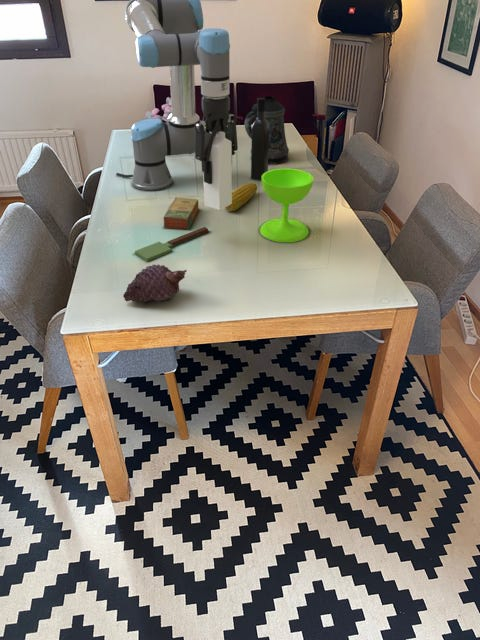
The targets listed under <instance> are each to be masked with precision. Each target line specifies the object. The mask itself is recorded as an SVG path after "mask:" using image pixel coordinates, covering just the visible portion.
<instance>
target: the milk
mask: <svg viewBox="0 0 480 640" xmlns="http://www.w3.org/2000/svg"><path fill="white" fill-rule="evenodd" d="M210 133H212V132H210ZM209 161H211V166H212V184H208V183H206V182H204V172H202V179H203V180H202V181H203V204H204V206H205V207H208V208H210V209H214V210H217V211H221V210H223V209H226V208H225V207H227V206H229V205H231V204H232V192H233V189H232V188H233V185H232V184H233V183H232V182H233V181H232V180H233V179H232V178H233V175H232V174H233V173H232V172H233V171H232V168H233V167H232V164H233V155H232V152H231V141H230V140H228V139H226V138H225V133H224V132H221V131H219V132H217V133H216V136H215V137H214V140H213V144H212V149H211V153H210V158H209Z"/></svg>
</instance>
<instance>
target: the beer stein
mask: <svg viewBox="0 0 480 640" xmlns="http://www.w3.org/2000/svg"><path fill="white" fill-rule="evenodd" d="M263 98H265V116H264V118H265V120H266V121H267V122H268V124H269V148H268V165H279V164H282V163H283V164H284V163H286V161H287V160H288V156H289V153H290V150H289V146H288V143H287V138H286V137H287V136H286V130H285V119H284V115H285V113H286V109H285V107H284V106H283V105H282V104H281V103H280V102H279V101H277V98H276V97H275V96H265V97H263ZM256 119H257V103H255V104H253V105H252V107H251V111H249V112H248V113H246V116H245V119H244V129H245V132H246V134H247V136H248V137H249V139H250V140H252V124H253V123H252V122H254V121H253V120H256Z"/></svg>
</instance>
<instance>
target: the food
mask: <svg viewBox="0 0 480 640" xmlns="http://www.w3.org/2000/svg"><path fill="white" fill-rule="evenodd" d="M257 191H258V185H257V183H256V182H248V183H244V184H243V185H241V186H240V187H238V188H236V189H235V190H233V191H232V204H231V205H229V206H227V207H225V208H224V209H225V210H226V211H229V212H233V211H236V210H238V209H240V207H242V206H243V205H244V204H246V203H247V202H248V201H249V200H251V198H252V197H253V196H254V195H255V194H256V192H257Z"/></svg>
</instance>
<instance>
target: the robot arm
mask: <svg viewBox="0 0 480 640" xmlns="http://www.w3.org/2000/svg"><path fill="white" fill-rule="evenodd" d="M124 11H125V12H124V15H125V20H126V23H127V25H128V27H129V29H130V30H131V31H132V32H134V34H135V35H136V39H135V49H136V57H137V62H138V65H139V66H140V67H141V68H152V69H154V68H162V67H163V68H164V67H165V68H167V67H169V84H170V85H169V86H170V87H169V88H170V98H171V106H172V113H171V114H170V115H169V116H168V122H163V120H161V119H157V118H156V119H154V118H151V119H147V118H144V119H145V120H143V119H141V120H139V121H137V122H135V123H134V124H133V125H132V126H131V128H130V130H131V131H130V132H131V137H130V138H131V141H132V148H133V149H132V150H133V159H134V168H133V173H132V174H124V173H120V172H116V173H115V175H116V176H119V177H122V178H132V179H131V182H132V186H133V187H134V189H137V190H141V191H151V192H152V191H160V190H164V189H166V188H168V187H170V186H171V185H172V184H173V177H172V175H171V172H170V170H169V167H168V164H167V161H166V157H168V156H181V155H192V154H194V159H195V160H197V161H200V163H201V172H202V173H203V172H204V182H206V183H208V184H212V166H211V161H209V158H210V153H211V149H212V144H213V140H214V137H215V136H216V133H217V132H219V131H221V132H224V133H225V138H226V139H228V140H230V141H231V152H232V156H234V155H235V154H236V152H237V151H238V148H239V147H238V146H239V145H238V132H237V131H238V130H237V121H238V116H237V115H235V114H232V113H230V110H231V98H230V97H229V95H230V94H231V93H230V91H231V88H230V84H231V83H230V81H231V80H230V49H231V43H230V34H229V32H228V30H227V29H224V28H223V29H222V28H217V27H215V28H204V13H203V7H202V3H201V0H128V2H127V3H126V6H125V9H124ZM199 65H200V94H201V95H202V97H201V111H202V113H203V116H202V120H201V119H200V118H201V117H200V116H199V115H198V114H197V113H196V83H195V79H196V78H195V77H196V76H195V66H199ZM210 132H212V133H210ZM204 182H203V183H204Z"/></svg>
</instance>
